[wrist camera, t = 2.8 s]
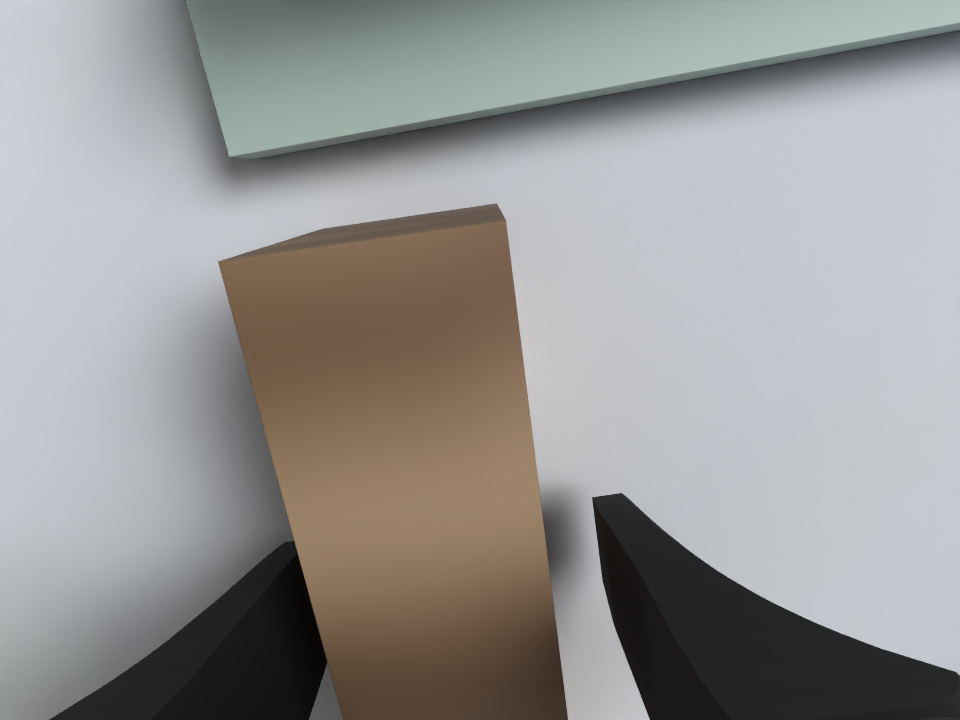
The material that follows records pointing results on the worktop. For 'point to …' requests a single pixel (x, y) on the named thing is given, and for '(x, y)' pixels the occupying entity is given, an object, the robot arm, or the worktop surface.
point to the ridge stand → (497, 55)
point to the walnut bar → (407, 461)
